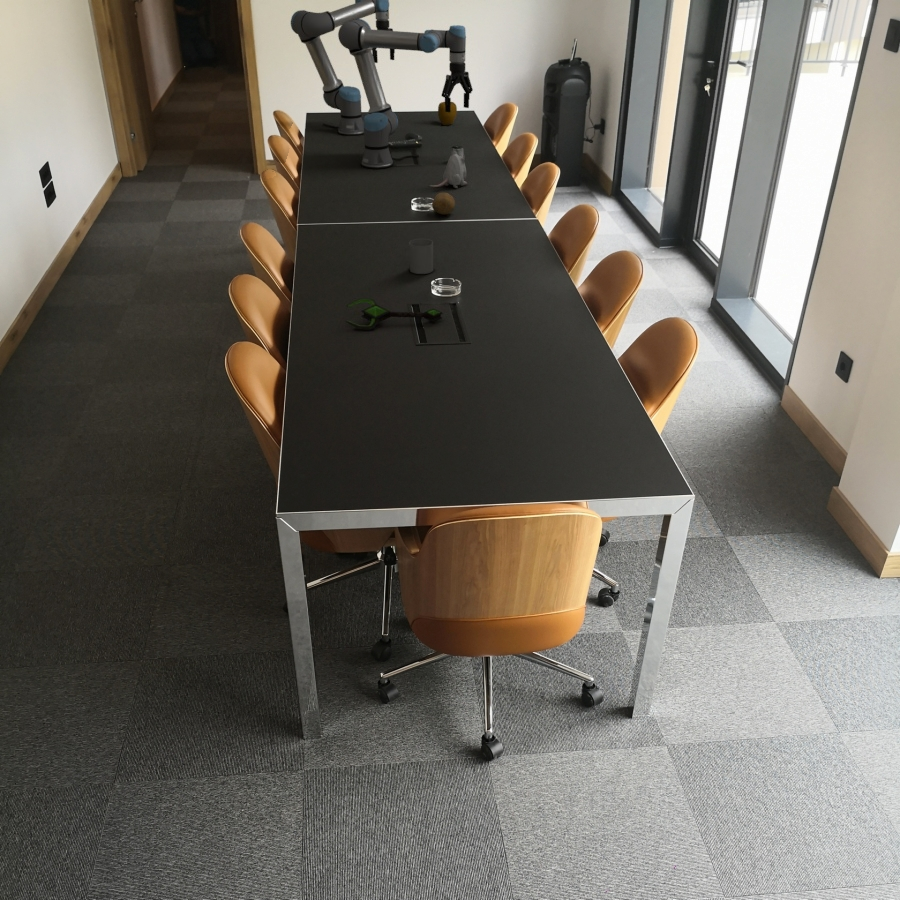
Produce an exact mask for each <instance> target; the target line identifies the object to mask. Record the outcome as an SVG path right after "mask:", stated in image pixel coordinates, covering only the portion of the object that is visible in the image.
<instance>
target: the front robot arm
mask: <svg viewBox="0 0 900 900" xmlns="http://www.w3.org/2000/svg"><path fill="white" fill-rule="evenodd" d="M466 35H467V34H466V27H465V26H464V25H455V24H454V25H450V26H449V29H447V30H444V29H426V30H424V32H413V31H412V32H411V31H400V30H399V31H398V30H393V31H386V30H377V29H372V28H371V26H370V24H369V23H368V22H367V21H366V20H364V19H363V18H360V19H353V20H351V21H349V22H346V23H344V24H343V25H341V26H339V29H338V33H337V37H338V40H339V43H340V44H341V46H343V47H344V48H345V49H347V50H348V52H349V54H350V55H351V56H353V58H354V61H355V64H356V66H357V70H358V74H359V77H360V80H361V83H362V86H363V89H364V94H365V97H366V99H367V103H368V106H369V109H368V111H367V113H368V114H366V115H365V116H364V118H363V126H364V134H363V138H364V139H363V140H364V151H363V155H362V159H361V166H362V167H363V168H366V169H371V170H381V169H387V168H390V167H392V166H394V161H401V160H403V159H406V158H419V157H420V155H419V154H413V155H412V154H411V155H410V154H409V155H404V156H401V157H398V158H397V157H392V155H391V152H390V151H391V150H390V147H389V145H390V144H389V137H390V136H392V135H393V134H395V132H396V130H397V128H398V125H399V120H398V116H397V115H396V113H395V112H394V111H393V109H392V105H391V104H389V103H388V102H387V99H386V96H385V92H384V89H383V87H382V83H381V79H380V76H379V72H378V69H377V66H376V63H375V62H374V59H373V55H372V48H377V49H385V50H390V49H395V50H402V51H415V52H416V51H417V52H423V53H426V54H432V53H434V52H436V51H437V50H438V49H449V54H448V55H449V57H448V59H449V60H448V61H449V65H448V66H449V72H450V74H446V75H445V82H444V85H443V87H442V91H441V97H443V98H444V102H445V112H449V113H450V112H451V102H452V98H451V94H452V92H453V90H454V88H455V86H456V85H458V84H460V86H461V87H462V89H463V91H464V92H463V108H465V109H469V108H470V94H472V92H473V90H474V89H473V86H472V83H471V79H470V74H469V71H466V63H465V62H466V45H467V43H466V42H467V36H466Z"/></svg>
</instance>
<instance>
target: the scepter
mask: <svg viewBox="0 0 900 900" xmlns="http://www.w3.org/2000/svg"><path fill="white" fill-rule="evenodd" d="M360 303H368V304H370V305H371V306H369V307H367V308H364V309H362V310H360V312H361V313H362V315H361V317H362V318H363V319H366V320H367V321H369V322H370V324H368V325H361V324H357V323H355V322H353V321H350V320H345V322H346V323H347V324H349V325H351V326H352V327H354V328H355V329H358V330H366V331H367V330H369V331H370V330H374V328H375V327H376V325H377V324H380V323H381V322H384V321H386V320H388V319H390V318H412V319H413V318H416V319H417V318H418V319H421V318H423V319H425V320H427V321H429V322H433V323H435V322H437V321H440V320H442V319H443V317H442V314H443V312H442V311H440V310H437V309H435V308H431V309H429V310H426V311H424V312H422V311H418V312H413V311H409V312H408V311H391V310H389V309H387V308H385V307H383V306H381V305H380V304H377V302H376V301H375V300H374V299H373V298H359V299H356V300H354V301H352V302H350V303H348V304H346V307H352V306H355V305H357V304H360Z"/></svg>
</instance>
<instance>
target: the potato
mask: <svg viewBox="0 0 900 900" xmlns="http://www.w3.org/2000/svg"><path fill="white" fill-rule="evenodd" d="M455 206H456V200H455V198H454V196H452V195H451V194H449V193H448V192H439V193H437V194H436V195H435V197H434V198H433V200H432V201H431V207H432V209H433V210H434V212H436V213H437V214H439V215H441V216H442V215H449V214H450V213H452V212H453V211H454V209H455Z"/></svg>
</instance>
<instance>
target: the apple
mask: <svg viewBox="0 0 900 900" xmlns="http://www.w3.org/2000/svg"><path fill="white" fill-rule="evenodd" d="M457 114H458V107H457V104H456V103H455V102H454V101H451V112H450V113H449V112H445V101H442V102H439V104H438V106H437V116H438V120H439V122H440V123H441V125H442V126H449V125H452V124H453V123H454V121H455V120H456V117H457Z"/></svg>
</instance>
